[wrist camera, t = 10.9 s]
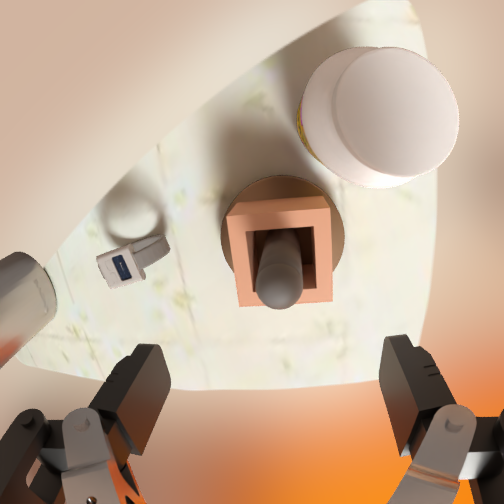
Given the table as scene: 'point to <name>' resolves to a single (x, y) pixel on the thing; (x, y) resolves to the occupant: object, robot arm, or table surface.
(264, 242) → the post stand
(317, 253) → the pink hollow square block
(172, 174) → the table surface
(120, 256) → the wristwatch
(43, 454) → the robot arm
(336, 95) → the supplement bottle
